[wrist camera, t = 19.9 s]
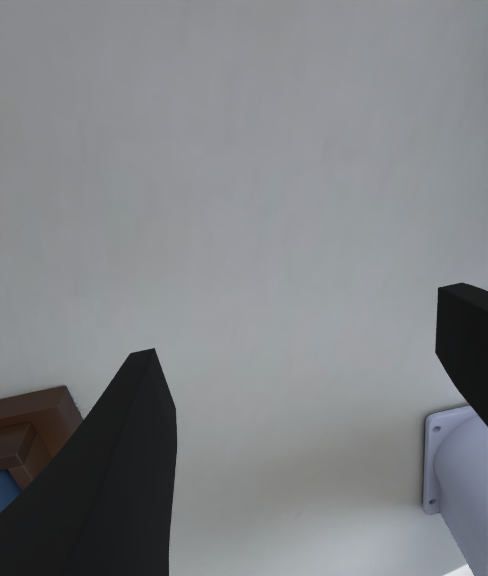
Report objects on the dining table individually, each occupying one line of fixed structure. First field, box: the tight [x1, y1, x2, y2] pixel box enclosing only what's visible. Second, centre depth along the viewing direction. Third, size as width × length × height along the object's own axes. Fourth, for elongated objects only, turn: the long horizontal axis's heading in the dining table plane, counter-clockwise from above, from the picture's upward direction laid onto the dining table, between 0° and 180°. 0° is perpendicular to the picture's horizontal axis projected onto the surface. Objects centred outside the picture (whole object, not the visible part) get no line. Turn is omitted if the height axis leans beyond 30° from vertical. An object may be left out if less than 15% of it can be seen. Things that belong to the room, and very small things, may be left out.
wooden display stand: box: [0, 386, 83, 491], centre depth 25 cm, size 16×10×4 cm, turn 10°
